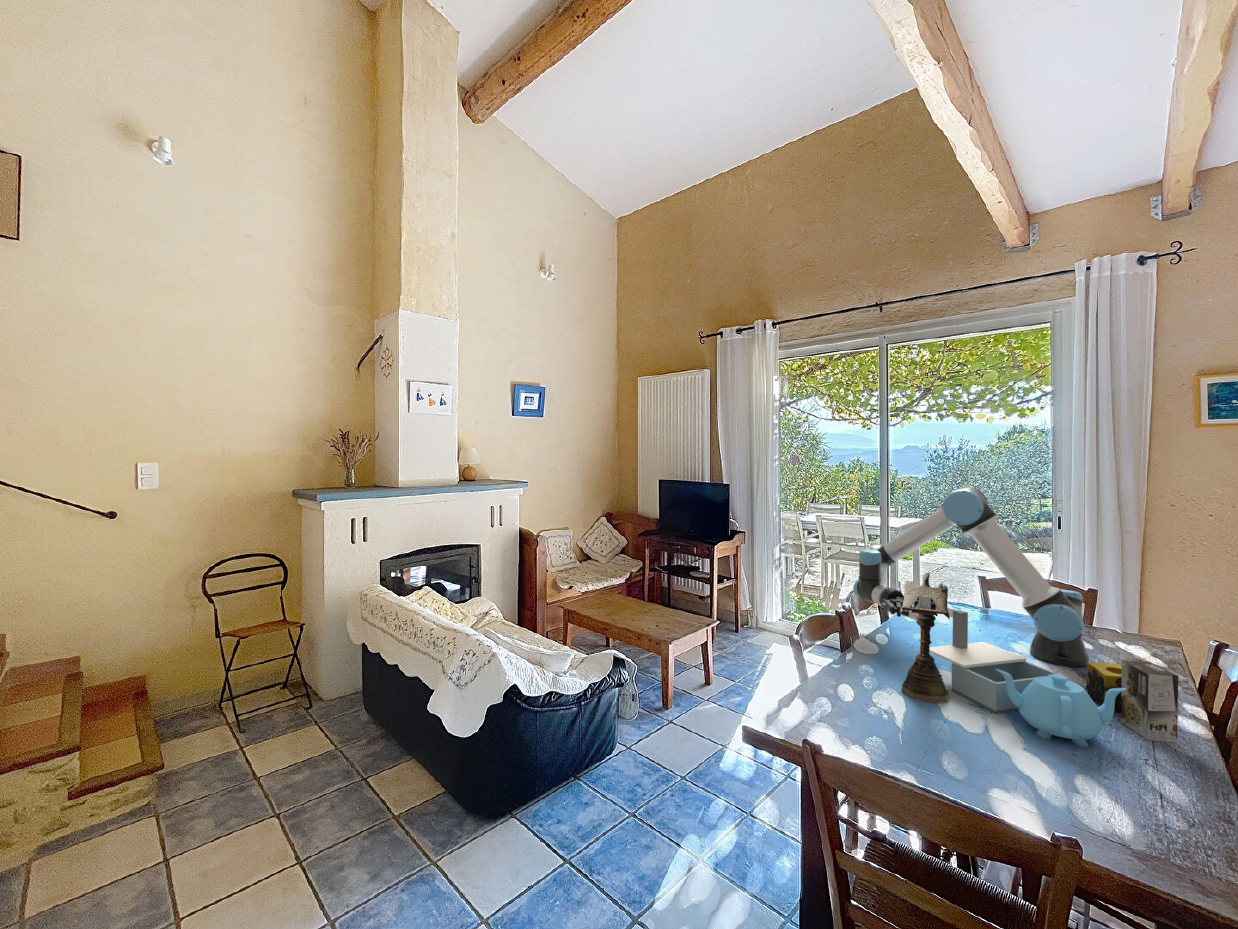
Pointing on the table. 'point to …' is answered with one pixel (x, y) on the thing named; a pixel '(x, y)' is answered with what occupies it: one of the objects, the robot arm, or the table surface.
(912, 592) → the bird statue
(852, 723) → the table surface
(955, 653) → the carton lid
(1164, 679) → the coffee box
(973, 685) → the carton
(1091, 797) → the table surface
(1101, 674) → the candle
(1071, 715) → the teapot
